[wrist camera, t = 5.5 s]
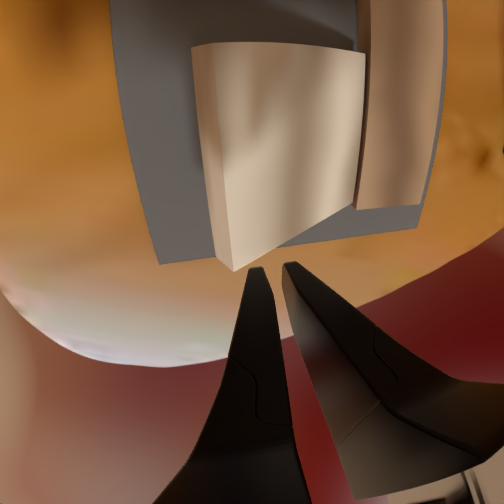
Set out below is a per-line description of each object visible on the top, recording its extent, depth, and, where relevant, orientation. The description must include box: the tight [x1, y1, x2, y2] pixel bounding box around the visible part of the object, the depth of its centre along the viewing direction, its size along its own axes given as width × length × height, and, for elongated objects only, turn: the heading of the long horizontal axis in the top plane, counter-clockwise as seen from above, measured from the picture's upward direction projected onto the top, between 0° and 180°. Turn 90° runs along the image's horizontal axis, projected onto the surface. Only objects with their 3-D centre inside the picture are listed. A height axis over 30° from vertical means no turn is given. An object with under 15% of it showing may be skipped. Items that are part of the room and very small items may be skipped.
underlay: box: [110, 0, 447, 265], centre depth 12 cm, size 22×32×1 cm
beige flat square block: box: [191, 42, 365, 272], centre depth 14 cm, size 10×10×2 cm
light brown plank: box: [351, 0, 443, 210], centre depth 12 cm, size 6×25×2 cm, turn 2°
